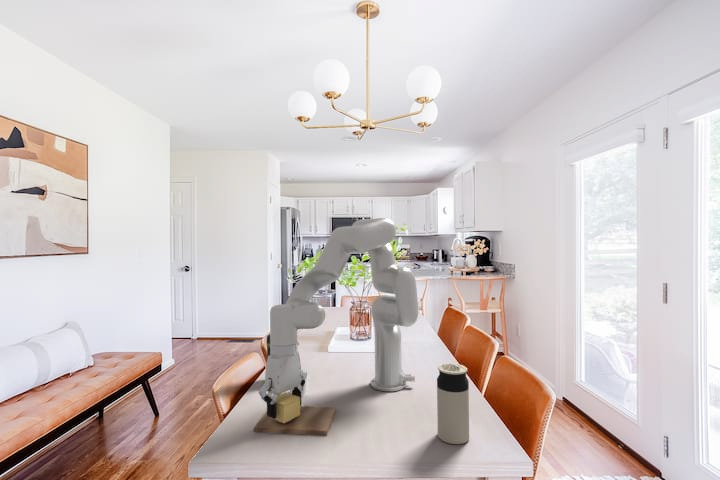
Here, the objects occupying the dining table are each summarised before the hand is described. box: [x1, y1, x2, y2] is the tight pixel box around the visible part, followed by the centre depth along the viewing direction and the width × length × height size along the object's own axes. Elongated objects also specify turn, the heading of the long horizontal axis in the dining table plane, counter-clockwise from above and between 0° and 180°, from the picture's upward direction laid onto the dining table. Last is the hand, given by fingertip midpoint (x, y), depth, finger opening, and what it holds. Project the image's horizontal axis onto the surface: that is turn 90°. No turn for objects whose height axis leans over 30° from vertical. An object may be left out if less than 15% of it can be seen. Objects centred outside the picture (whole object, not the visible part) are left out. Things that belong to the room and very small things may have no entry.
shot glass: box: [289, 369, 309, 398], centre depth 126 cm, size 7×7×7 cm
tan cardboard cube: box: [270, 391, 300, 423], centre depth 105 cm, size 6×6×5 cm
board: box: [253, 405, 337, 436], centre depth 107 cm, size 20×14×1 cm
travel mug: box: [436, 362, 470, 445], centre depth 97 cm, size 8×8×18 cm
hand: (284, 410), depth 105 cm, fingers open, 8 cm apart
